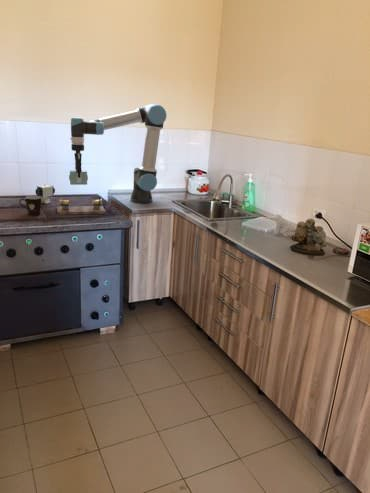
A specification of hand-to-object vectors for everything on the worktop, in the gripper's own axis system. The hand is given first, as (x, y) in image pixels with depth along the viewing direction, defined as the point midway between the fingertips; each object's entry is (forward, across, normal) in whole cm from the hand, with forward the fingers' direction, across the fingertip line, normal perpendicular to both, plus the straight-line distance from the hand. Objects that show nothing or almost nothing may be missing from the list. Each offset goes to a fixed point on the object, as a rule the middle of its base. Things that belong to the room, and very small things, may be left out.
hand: (78, 181), depth 265 cm
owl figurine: (+17, +102, +102) cm, 145 cm away
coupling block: (+1, 0, 0) cm, 1 cm away
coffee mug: (+15, +19, -28) cm, 37 cm away
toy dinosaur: (+17, +76, +105) cm, 130 cm away
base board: (+15, +15, 0) cm, 21 cm away
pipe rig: (+14, +15, 0) cm, 20 cm away
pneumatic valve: (+15, -8, -20) cm, 27 cm away
